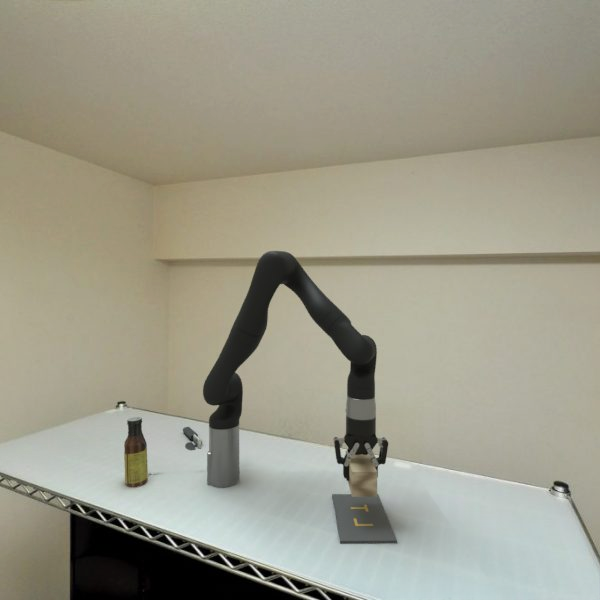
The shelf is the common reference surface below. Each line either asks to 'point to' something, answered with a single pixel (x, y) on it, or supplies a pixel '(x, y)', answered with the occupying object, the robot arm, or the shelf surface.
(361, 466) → the maple block
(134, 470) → the sauce bottle
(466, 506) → the shelf surface
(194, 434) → the can opener
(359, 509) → the picture tile
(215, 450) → the robot arm
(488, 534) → the shelf surface
